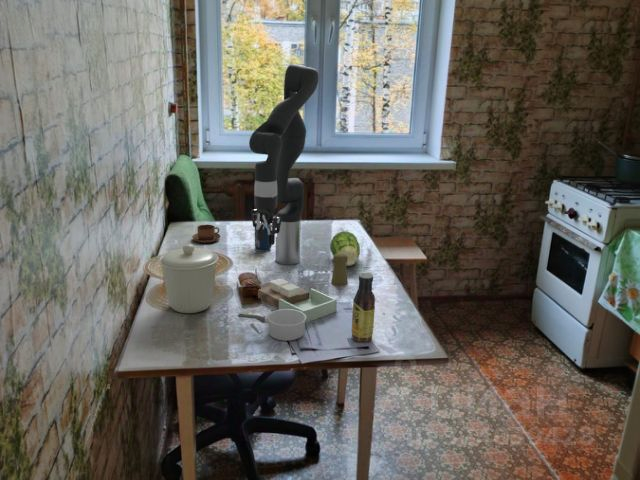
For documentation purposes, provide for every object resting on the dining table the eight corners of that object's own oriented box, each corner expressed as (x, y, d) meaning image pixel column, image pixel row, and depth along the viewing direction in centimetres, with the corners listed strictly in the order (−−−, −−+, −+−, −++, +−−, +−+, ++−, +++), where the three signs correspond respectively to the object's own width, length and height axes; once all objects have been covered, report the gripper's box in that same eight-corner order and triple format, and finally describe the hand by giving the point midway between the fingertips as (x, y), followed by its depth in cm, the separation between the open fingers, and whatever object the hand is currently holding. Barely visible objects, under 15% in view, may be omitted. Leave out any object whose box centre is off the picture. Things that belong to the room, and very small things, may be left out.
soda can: (273, 247, 243) (273, 220, 240) (268, 252, 237) (269, 224, 233) (257, 245, 244) (257, 218, 241) (252, 251, 238) (252, 223, 234)
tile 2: (280, 293, 189) (280, 286, 188) (290, 290, 192) (290, 283, 191) (288, 297, 185) (288, 290, 185) (299, 294, 188) (299, 287, 188)
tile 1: (269, 288, 192) (269, 281, 192) (280, 285, 195) (280, 278, 195) (278, 292, 189) (278, 285, 189) (288, 289, 192) (288, 282, 191)
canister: (157, 299, 188) (154, 238, 182) (212, 292, 195) (210, 233, 189) (166, 322, 172) (163, 256, 166) (225, 314, 179) (224, 250, 173)
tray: (278, 310, 183) (278, 298, 182) (311, 299, 192) (311, 288, 191) (303, 323, 174) (303, 311, 173) (336, 311, 184) (336, 299, 182)
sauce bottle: (349, 333, 169) (352, 270, 163) (370, 333, 170) (374, 270, 164) (352, 343, 163) (356, 279, 157) (374, 343, 164) (378, 278, 158)
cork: (346, 286, 204) (347, 257, 200) (329, 284, 205) (330, 255, 201) (348, 280, 209) (350, 252, 206) (332, 278, 210) (333, 250, 207)
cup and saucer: (206, 234, 258) (206, 221, 256) (226, 240, 251) (225, 226, 250) (186, 240, 249) (185, 227, 247) (205, 246, 242) (205, 232, 240)
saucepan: (242, 322, 174) (242, 306, 172) (307, 326, 173) (308, 309, 171) (234, 340, 163) (234, 322, 161) (304, 344, 162) (304, 326, 160)
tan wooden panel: (253, 295, 194) (253, 287, 193) (281, 286, 202) (281, 279, 201) (281, 309, 183) (281, 301, 183) (309, 300, 191) (309, 292, 190)
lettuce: (333, 273, 216) (334, 244, 213) (328, 255, 236) (329, 228, 232) (363, 273, 217) (365, 244, 214) (356, 255, 237) (357, 229, 233)
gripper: (243, 191, 191) (244, 239, 196) (270, 199, 181) (270, 250, 186) (261, 188, 195) (262, 235, 201) (288, 196, 185) (288, 245, 191)
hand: (265, 242), depth 193 cm, fingers open, 5 cm apart
